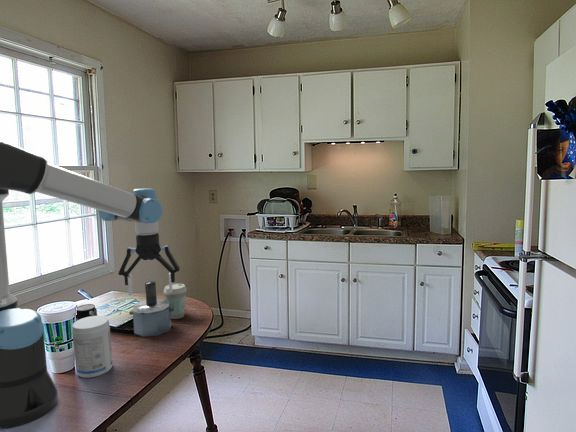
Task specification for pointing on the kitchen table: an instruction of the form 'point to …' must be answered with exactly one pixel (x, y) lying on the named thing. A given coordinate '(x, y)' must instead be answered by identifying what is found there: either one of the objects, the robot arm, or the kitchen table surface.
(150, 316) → the pot
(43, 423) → the kitchen table surface
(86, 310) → the beverage can
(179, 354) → the kitchen table surface
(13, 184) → the robot arm
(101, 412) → the kitchen table surface
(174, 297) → the coffee cup
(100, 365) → the supplement tub
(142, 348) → the kitchen table surface
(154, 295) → the lid
